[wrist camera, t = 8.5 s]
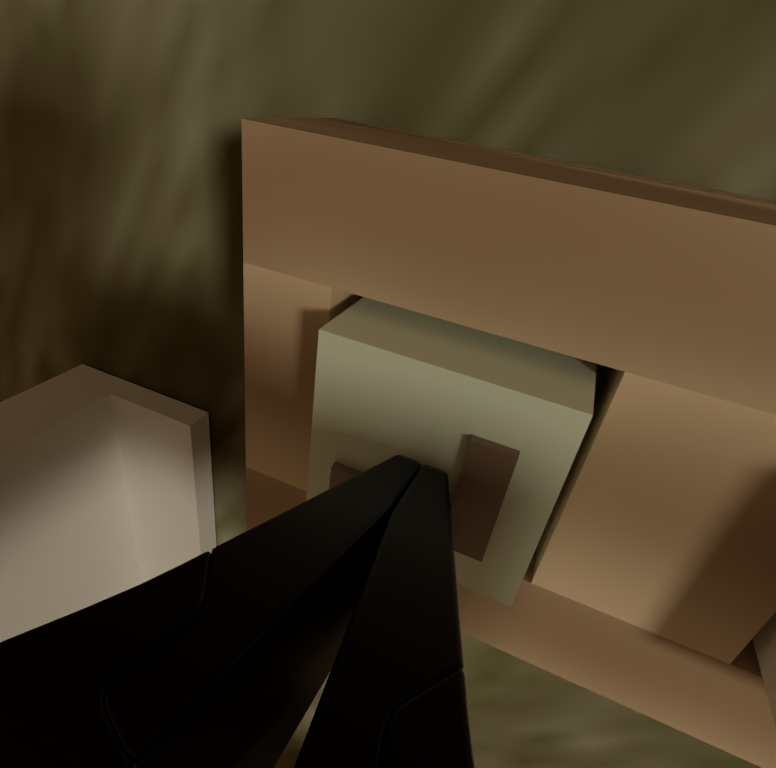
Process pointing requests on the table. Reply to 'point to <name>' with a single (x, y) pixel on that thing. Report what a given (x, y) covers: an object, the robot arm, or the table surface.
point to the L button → (453, 425)
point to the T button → (768, 659)
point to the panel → (566, 336)
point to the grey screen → (96, 493)
